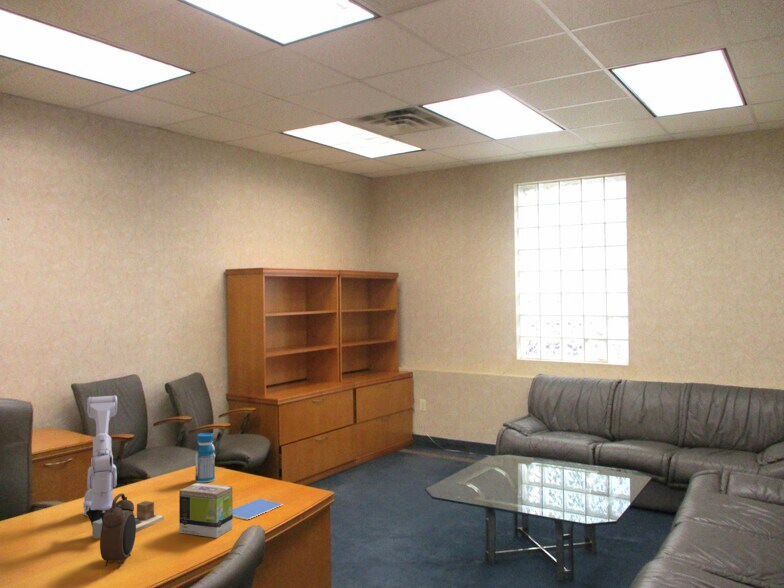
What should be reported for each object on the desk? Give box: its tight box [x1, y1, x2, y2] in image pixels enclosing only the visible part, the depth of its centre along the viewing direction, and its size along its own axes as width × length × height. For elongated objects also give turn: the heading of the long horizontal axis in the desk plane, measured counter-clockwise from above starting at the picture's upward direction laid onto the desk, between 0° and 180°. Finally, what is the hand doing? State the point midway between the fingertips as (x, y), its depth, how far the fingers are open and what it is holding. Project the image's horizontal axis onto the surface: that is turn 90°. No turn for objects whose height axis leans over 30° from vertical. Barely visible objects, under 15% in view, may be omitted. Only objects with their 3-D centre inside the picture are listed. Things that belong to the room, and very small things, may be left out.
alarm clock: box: [99, 493, 137, 569], centre depth 188 cm, size 15×7×20 cm, turn 4°
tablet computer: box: [232, 498, 284, 521], centre depth 234 cm, size 19×13×1 cm, turn 149°
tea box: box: [178, 482, 234, 539], centre depth 212 cm, size 15×10×15 cm, turn 71°
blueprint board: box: [134, 514, 165, 533], centre depth 218 cm, size 10×14×1 cm
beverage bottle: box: [194, 432, 216, 484], centre depth 270 cm, size 8×8×20 cm
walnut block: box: [136, 500, 155, 520], centre depth 222 cm, size 4×4×5 cm
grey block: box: [91, 519, 103, 539], centre depth 208 cm, size 4×4×5 cm
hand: (101, 531), depth 208 cm, fingers closed on grey block, 4 cm apart
